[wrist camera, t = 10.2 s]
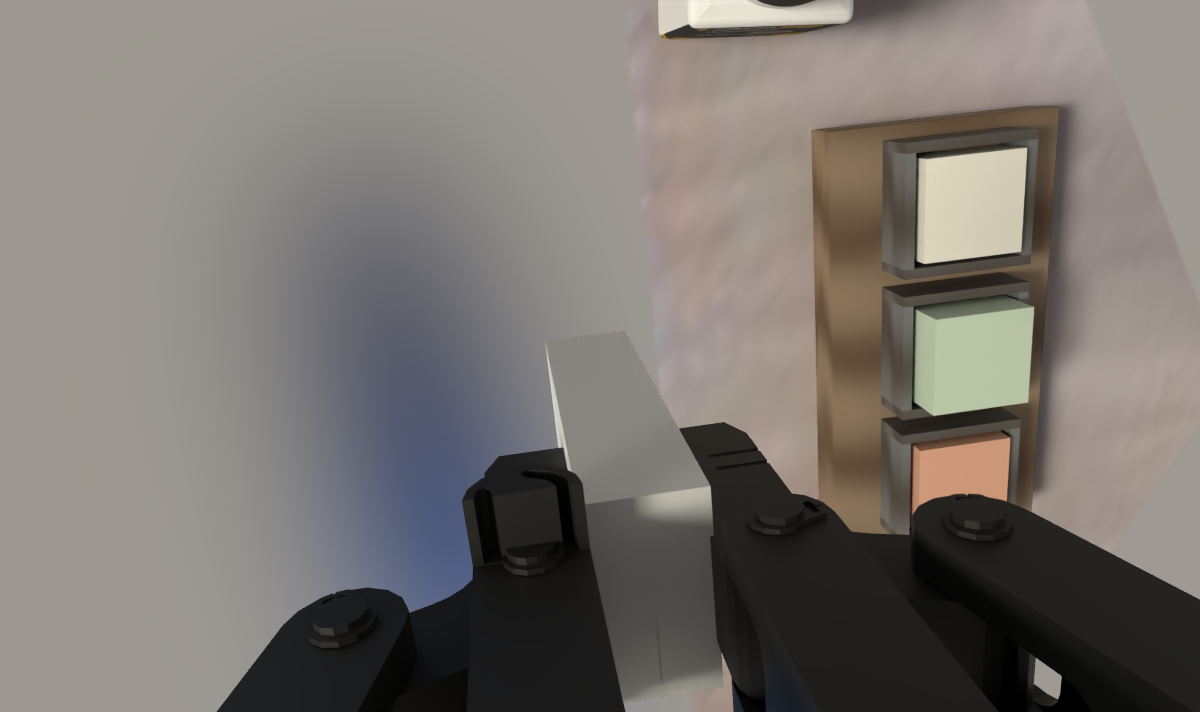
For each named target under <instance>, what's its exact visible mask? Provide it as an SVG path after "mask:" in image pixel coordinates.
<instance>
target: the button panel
mask: <svg viewBox="0 0 1200 712" xmlns="http://www.w3.org/2000/svg"><path fill="white" fill-rule="evenodd" d="M1058 119H1059V107H1058V106H1026V107H1017V108H1008V109H999V110H990V111H981V112H972V113H963V114H954V115H945V116H936V117H927V118H918V119H909V120H900V121H891V122H882V123H873V124H864V125H855V126H846V127H837V128H828V129H819V130H812V164H813V215H814V266H815V317H816V368H817V419H818V470H819V501H822V502H823V503H825V504H826V505H827V506H829V507H830V508H831V509H833V510H834V511H835V512H836V513H837V515H838V516H839V517H840V518H841V519H842V521H843V522H844V523H845V524H846V526H847V527H848V528H849V529H850V530H851V531H853V532H861V533H873V534H888V533H889V534H905V535H912V528H911V527H910V471H911V443H918V442H925V441H932V440H939V439H946V438H952V437H959V436H966V435H973V434H980V433H987V432H994V431H1001V432H1002V433H1004V434H1005V435H1007V436H1008V437H1010V454H1009V472H1008V489H1007V502H1009V503H1012V504H1014V505H1017V506H1020V507H1022V508H1025V509H1026V510H1028V511H1030V512H1031V511H1032V497H1033V482H1034V468H1035V453H1036V439H1037V424H1038V410H1039V395H1040V381H1041V366H1042V352H1043V337H1044V323H1045V308H1046V294H1047V279H1048V265H1049V250H1050V236H1051V221H1052V206H1053V192H1054V177H1055V163H1056V148H1057V134H1058ZM992 145H1003V146H1014V147H1025V148H1027V160H1026V178H1025V195H1024V212H1023V229H1022V246H1021V252H1015V253H1007V254H999V255H991V256H983V257H975V258H967V259H959V260H952V261H944V262H936V263H928V264H923V263H920V262H918V261H915V260H914V250H915V194H916V154H922V153H931V152H940V151H948V150H957V149H966V148H974V147H983V146H992ZM1003 295H1005V296H1007V297H1010V298H1012V299H1015V300H1018V301H1020V302H1023V303H1025V304H1028V305H1030V306H1033V307H1034V318H1033V334H1032V349H1031V365H1030V380H1029V396H1028V403H1021V404H1014V405H1007V406H1000V407H993V408H985V409H978V410H971V411H964V412H957V413H950V414H943V415H936V416H933V415H932V414H930V413H929V412H928V411H926V410H925V409H923V408H922V407H921V406H919V405H918V404H916V403H915V402H914V401H912V360H913V307H919V306H927V305H935V304H942V303H950V302H958V301H965V300H973V299H980V298H988V297H996V296H1003Z"/></svg>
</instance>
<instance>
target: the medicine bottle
mask: <svg viewBox="0 0 1200 712" xmlns="http://www.w3.org/2000/svg"><path fill="white" fill-rule="evenodd" d="M853 6H854V0H658V7H659V33H660V36H661V37H662V38H664V39H685V38H714V37H742V36H771V35H794V34H798V33H803V32H807V31H812V30H816V29H821V28H826V27H830V26H835V25H839V24H844V23H847V22H848V21H849V20H850V19H851V18H852V16H853Z"/></svg>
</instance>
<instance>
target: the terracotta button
mask: <svg viewBox="0 0 1200 712" xmlns="http://www.w3.org/2000/svg"><path fill="white" fill-rule="evenodd" d="M1009 454H1010V437H1008V436H1007V435H1005V434H1004V433H1002V432H1001V431H994V432H987V433H980V434H973V435H966V436H959V437H952V438H946V439H939V440H932V441H925V442H918V443H911V471H910V527H911V528H912V515H913V513H914V512H915V510H916V509H917V507H918V506H919V505H921V504H923V503H925V502H927V501H929V500H931V499H933V498H939V497H944V496H950V495H953V494H965V495H968V494H980V495H984V496H985V497H990V498H995V499H1001V500H1004V501H1007V489H1008V472H1009Z"/></svg>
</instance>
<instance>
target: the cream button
mask: <svg viewBox="0 0 1200 712" xmlns="http://www.w3.org/2000/svg"><path fill="white" fill-rule="evenodd" d="M1026 160H1027V148H1025V147H1014V146H1003V145H992V146H983V147H974V148H966V149H957V150H948V151H940V152H931V153H922V154H916V194H915V250H914V260H915V261H918V262H920V263H923V264H928V263H936V262H944V261H952V260H959V259H967V258H975V257H983V256H991V255H999V254H1007V253H1015V252H1021V246H1022V229H1023V212H1024V195H1025V178H1026Z"/></svg>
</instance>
